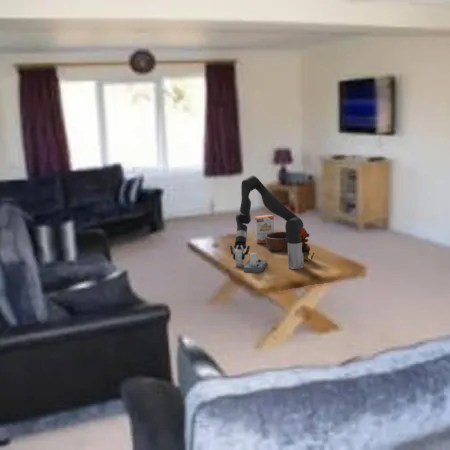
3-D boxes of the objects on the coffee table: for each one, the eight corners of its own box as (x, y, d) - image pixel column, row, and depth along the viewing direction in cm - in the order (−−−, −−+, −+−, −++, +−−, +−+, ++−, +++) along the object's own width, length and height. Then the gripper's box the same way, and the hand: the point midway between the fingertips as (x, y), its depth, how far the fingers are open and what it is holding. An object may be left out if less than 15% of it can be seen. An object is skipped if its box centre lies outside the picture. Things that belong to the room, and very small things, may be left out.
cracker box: (257, 244, 515) (256, 217, 511) (255, 242, 521) (254, 216, 517) (274, 242, 519) (273, 215, 515) (272, 240, 525) (271, 214, 521)
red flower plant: (320, 258, 456) (311, 224, 449) (297, 266, 454) (288, 233, 447) (312, 252, 471) (303, 219, 464) (290, 260, 468) (281, 228, 461)
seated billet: (251, 268, 445) (250, 252, 443) (258, 268, 444) (257, 252, 442) (250, 270, 441) (249, 254, 439) (256, 270, 440) (256, 254, 438)
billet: (236, 264, 458) (236, 248, 456) (243, 264, 457) (242, 248, 455) (235, 266, 454) (234, 250, 452) (242, 266, 453) (241, 250, 451)
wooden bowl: (299, 244, 508) (298, 231, 506) (299, 252, 483) (298, 238, 481) (266, 245, 510) (265, 232, 508) (264, 253, 486) (264, 239, 484)
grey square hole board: (249, 263, 460) (249, 259, 459) (266, 263, 457) (266, 259, 457) (243, 271, 439) (243, 267, 438) (261, 271, 436) (261, 267, 436)
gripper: (230, 235, 461) (227, 256, 452) (250, 235, 458) (248, 256, 448) (231, 241, 467) (229, 262, 458) (252, 241, 464) (249, 262, 455)
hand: (238, 259), depth 453 cm, fingers open, 5 cm apart
